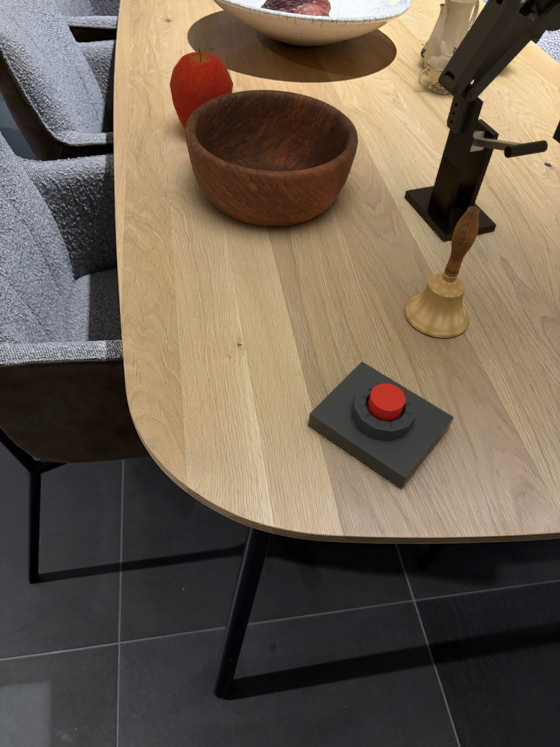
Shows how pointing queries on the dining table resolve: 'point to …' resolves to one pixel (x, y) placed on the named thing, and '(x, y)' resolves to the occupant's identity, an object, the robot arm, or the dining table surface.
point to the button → (386, 402)
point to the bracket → (455, 190)
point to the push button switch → (380, 426)
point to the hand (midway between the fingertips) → (509, 152)
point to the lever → (507, 146)
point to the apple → (197, 82)
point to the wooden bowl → (270, 155)
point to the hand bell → (446, 288)
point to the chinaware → (446, 38)
